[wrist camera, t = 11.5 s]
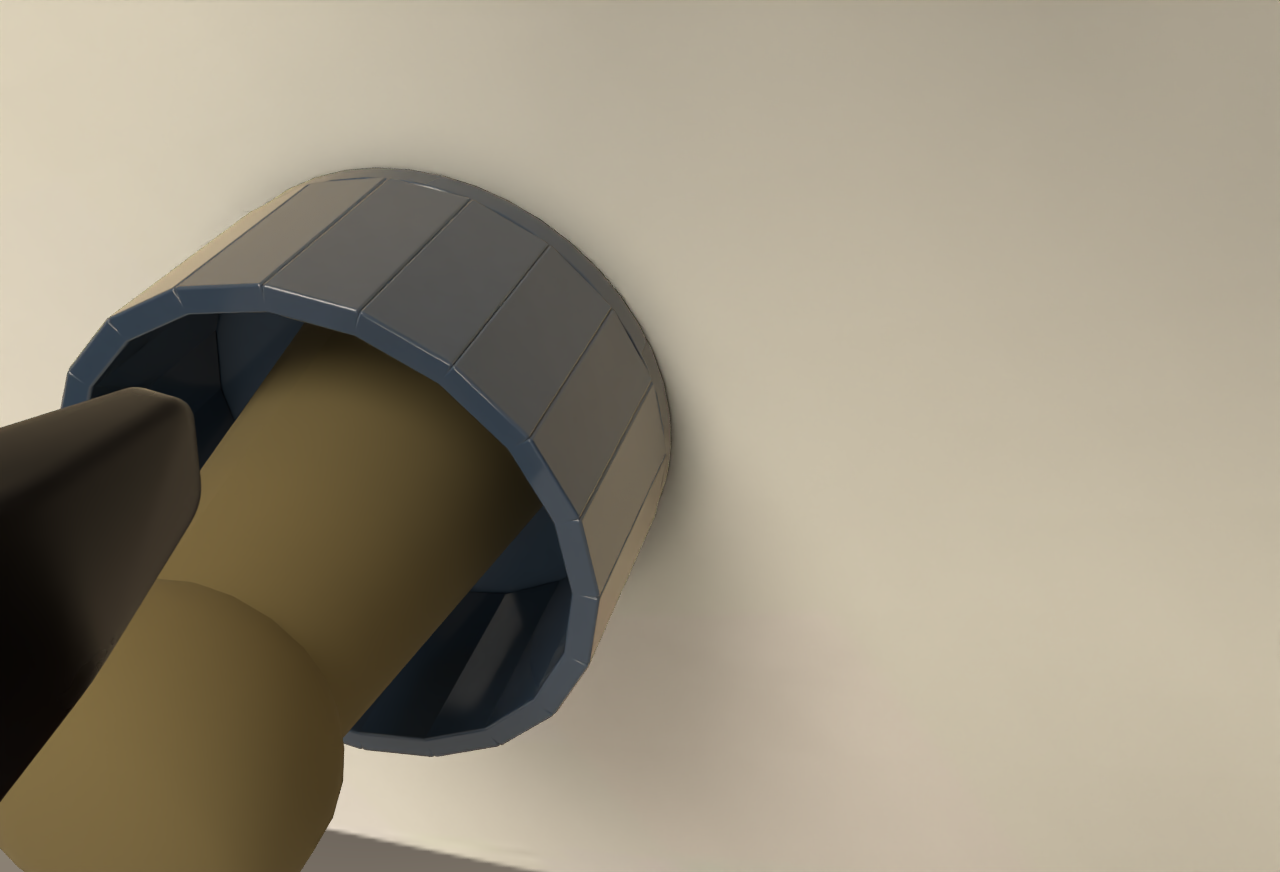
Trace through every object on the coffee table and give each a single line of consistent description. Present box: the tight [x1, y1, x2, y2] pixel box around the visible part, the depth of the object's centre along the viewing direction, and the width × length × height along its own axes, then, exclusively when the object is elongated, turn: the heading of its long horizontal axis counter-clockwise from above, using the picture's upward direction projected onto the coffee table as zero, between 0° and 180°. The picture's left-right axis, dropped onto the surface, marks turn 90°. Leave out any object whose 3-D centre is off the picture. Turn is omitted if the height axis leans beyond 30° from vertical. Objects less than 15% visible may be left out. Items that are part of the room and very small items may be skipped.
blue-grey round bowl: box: [61, 168, 671, 757], centre depth 23 cm, size 10×10×5 cm
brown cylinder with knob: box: [0, 323, 543, 872], centre depth 20 cm, size 6×6×11 cm
